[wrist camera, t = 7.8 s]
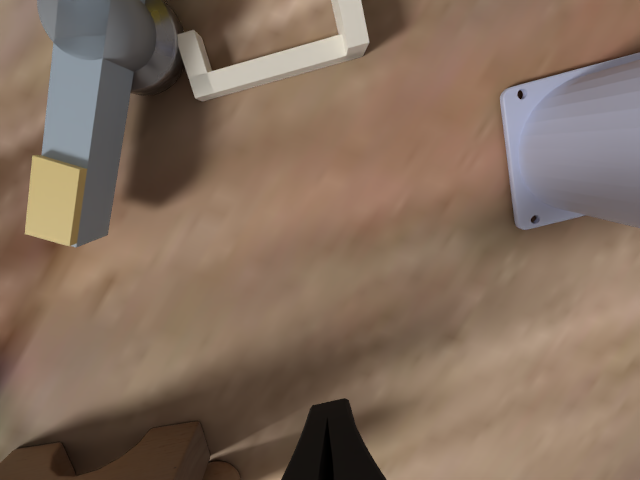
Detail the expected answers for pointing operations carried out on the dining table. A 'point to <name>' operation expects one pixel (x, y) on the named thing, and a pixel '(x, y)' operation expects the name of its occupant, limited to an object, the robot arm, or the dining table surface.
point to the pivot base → (160, 53)
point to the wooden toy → (128, 460)
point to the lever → (85, 114)
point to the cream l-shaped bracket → (275, 56)
